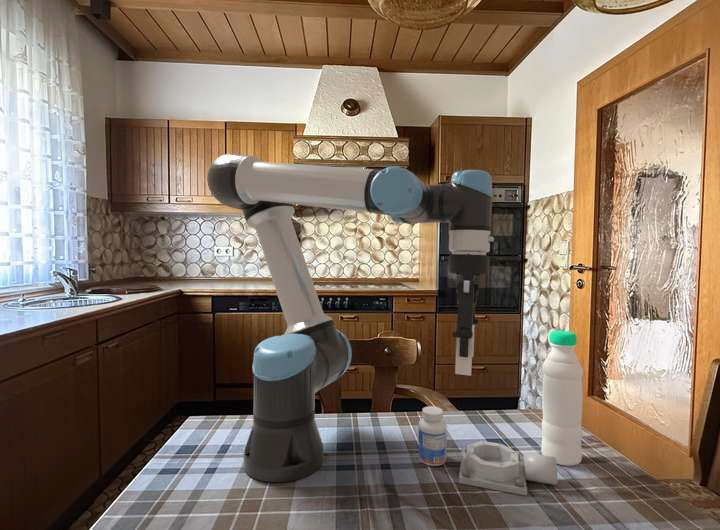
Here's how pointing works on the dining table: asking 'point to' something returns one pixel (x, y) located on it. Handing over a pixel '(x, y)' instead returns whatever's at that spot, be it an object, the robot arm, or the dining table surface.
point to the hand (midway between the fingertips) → (465, 364)
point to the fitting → (504, 468)
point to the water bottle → (562, 401)
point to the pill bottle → (432, 437)
